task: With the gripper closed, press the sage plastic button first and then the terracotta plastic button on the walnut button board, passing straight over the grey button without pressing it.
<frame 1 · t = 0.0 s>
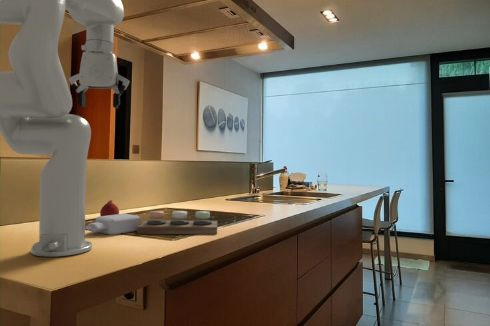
hand: (99, 107, 109), 37 cm above the counter, tool pointing down, fingers open, 9 cm apart
grey button: (179, 214, 112), point 5 cm above the counter, slide at 0.0 cm
white bottle: (109, 234, 107), on the counter
terracotta button: (156, 214, 112), point 5 cm above the counter, slide at 0.0 cm
onion: (109, 224, 121), on the counter
button board: (179, 230, 112), on the counter
sage button: (202, 215, 113), point 5 cm above the counter, slide at 0.0 cm
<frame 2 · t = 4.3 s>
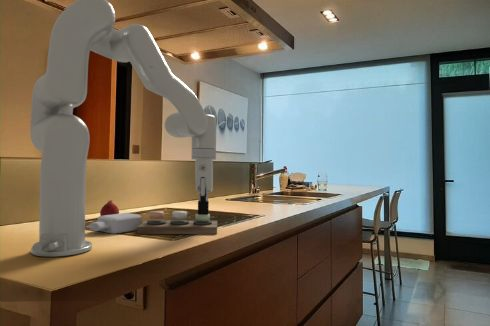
hand: (203, 214, 113), 5 cm above the counter, tool pointing down, fingers closed
white bottle: (111, 233, 109), on the counter
sage button: (202, 217, 113), point 4 cm above the counter, slide at 0.7 cm, touching gripper
everything else where it was.
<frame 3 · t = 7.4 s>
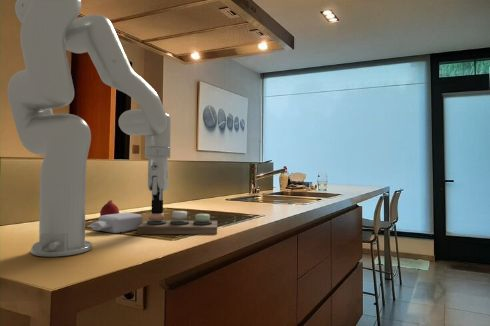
hand: (157, 213, 112), 5 cm above the counter, tool pointing down, fingers closed
terracotta button: (156, 216, 112), point 4 cm above the counter, slide at 0.5 cm, touching gripper
sage button: (202, 217, 113), point 4 cm above the counter, slide at 0.8 cm
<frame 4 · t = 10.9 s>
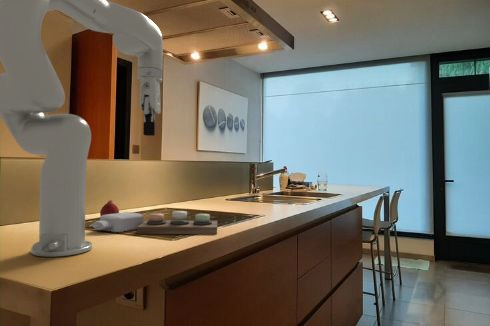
hand: (149, 135, 114), 29 cm above the counter, tool pointing down, fingers closed
terracotta button: (156, 217, 112), point 4 cm above the counter, slide at 0.8 cm
at the end: sage button slide at 0.8 cm; terracotta button slide at 0.8 cm; grey button slide at 0.0 cm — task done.
